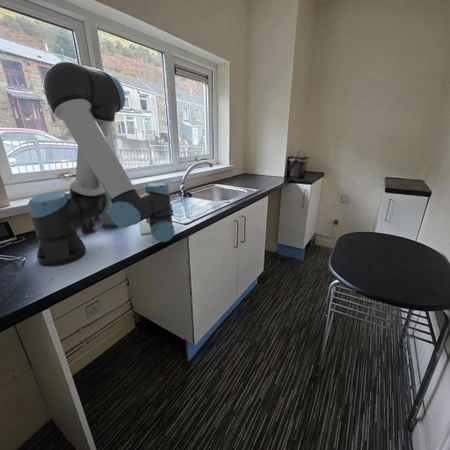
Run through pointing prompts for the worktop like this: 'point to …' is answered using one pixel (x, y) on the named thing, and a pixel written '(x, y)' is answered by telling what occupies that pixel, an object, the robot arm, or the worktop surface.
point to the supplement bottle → (88, 226)
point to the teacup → (106, 218)
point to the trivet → (145, 228)
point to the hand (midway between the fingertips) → (152, 204)
